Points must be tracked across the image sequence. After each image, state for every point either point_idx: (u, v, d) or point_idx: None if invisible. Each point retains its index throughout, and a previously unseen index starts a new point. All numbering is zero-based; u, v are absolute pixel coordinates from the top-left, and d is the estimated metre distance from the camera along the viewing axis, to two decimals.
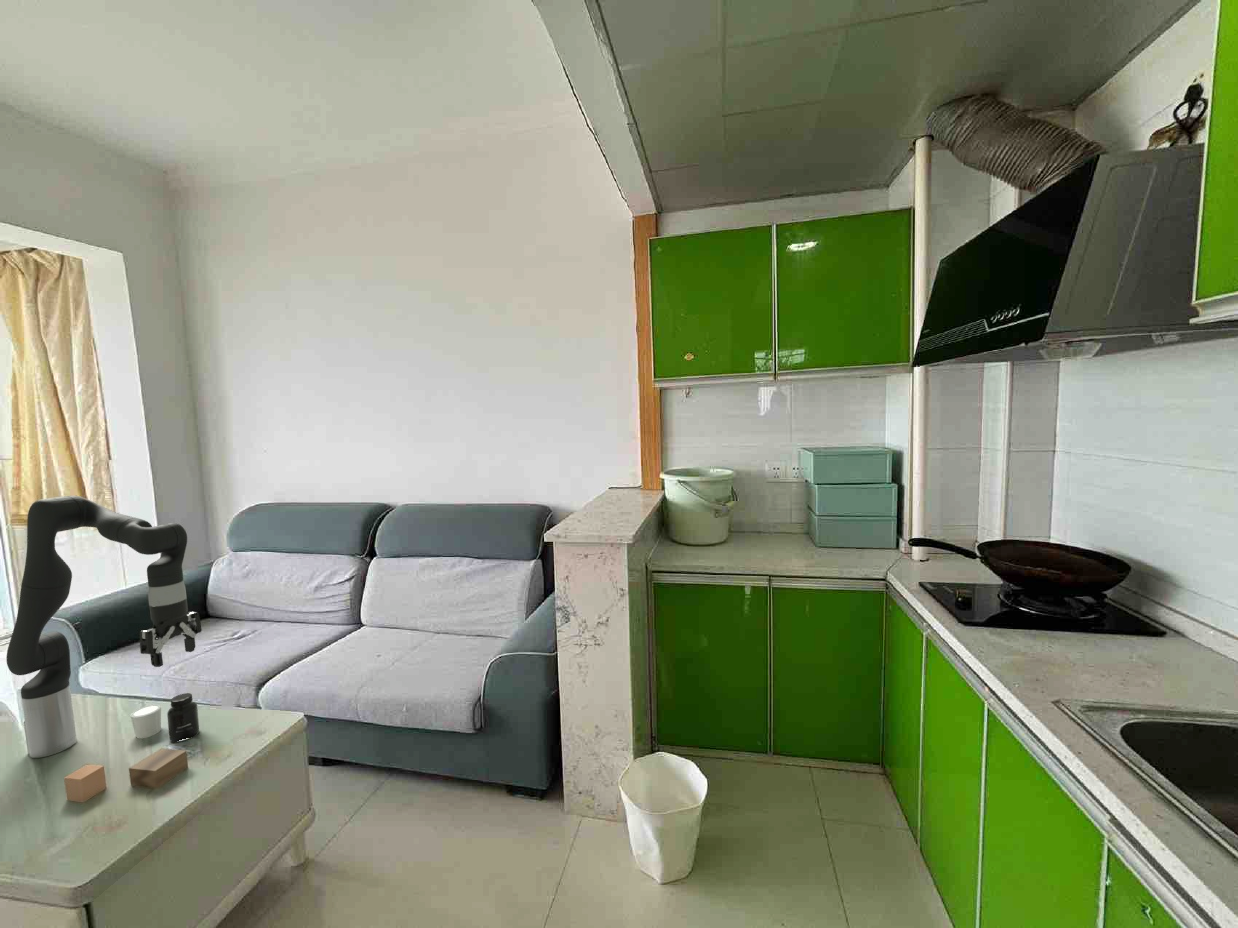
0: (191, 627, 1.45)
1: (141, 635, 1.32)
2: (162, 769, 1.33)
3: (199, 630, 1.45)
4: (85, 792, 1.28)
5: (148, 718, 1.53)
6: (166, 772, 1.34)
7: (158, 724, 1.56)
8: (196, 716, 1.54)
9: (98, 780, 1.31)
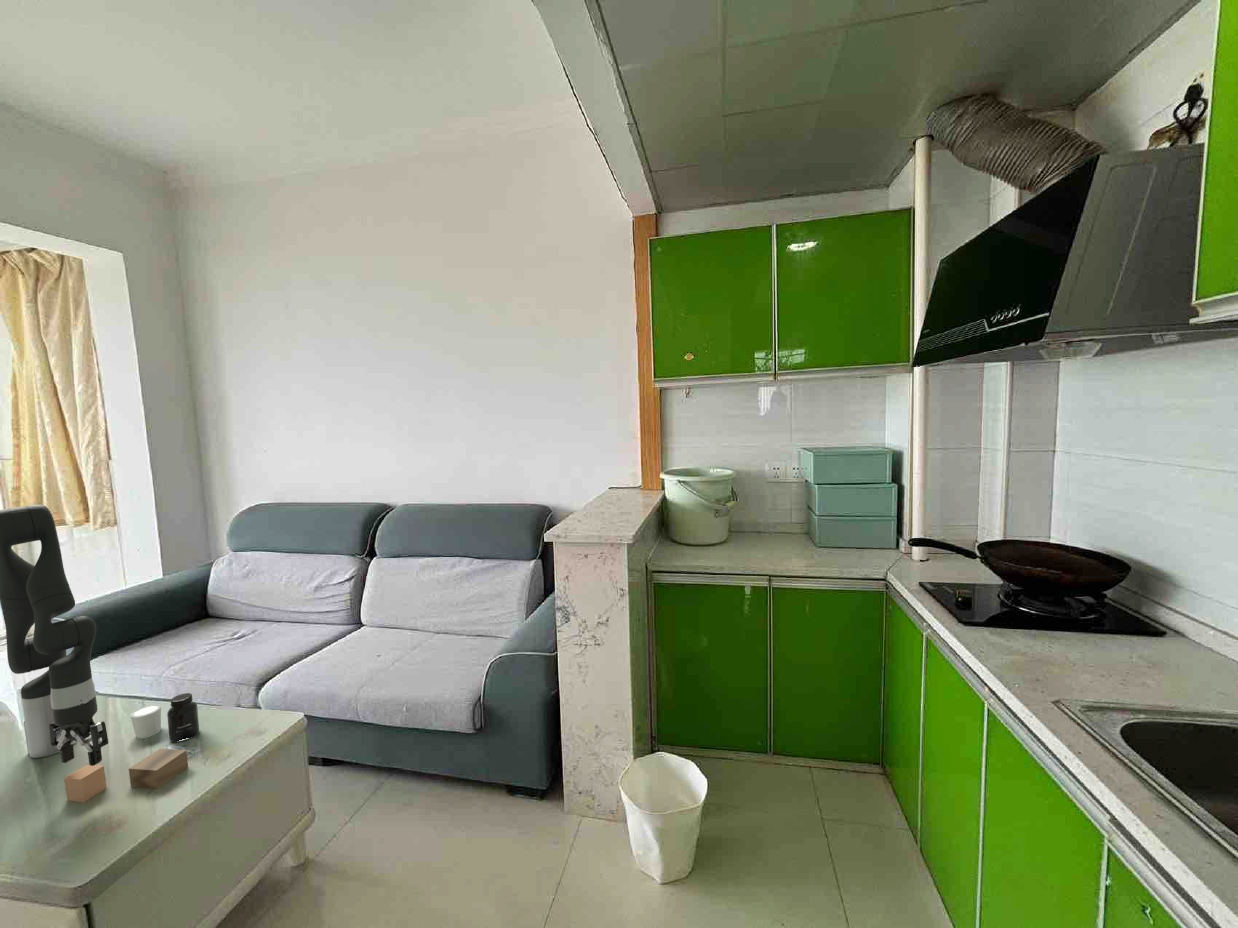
0: None
1: (96, 729, 1.27)
2: (163, 768, 1.33)
3: None
4: (85, 792, 1.28)
5: (148, 718, 1.53)
6: (167, 772, 1.34)
7: (158, 724, 1.56)
8: (196, 716, 1.54)
9: (98, 780, 1.31)
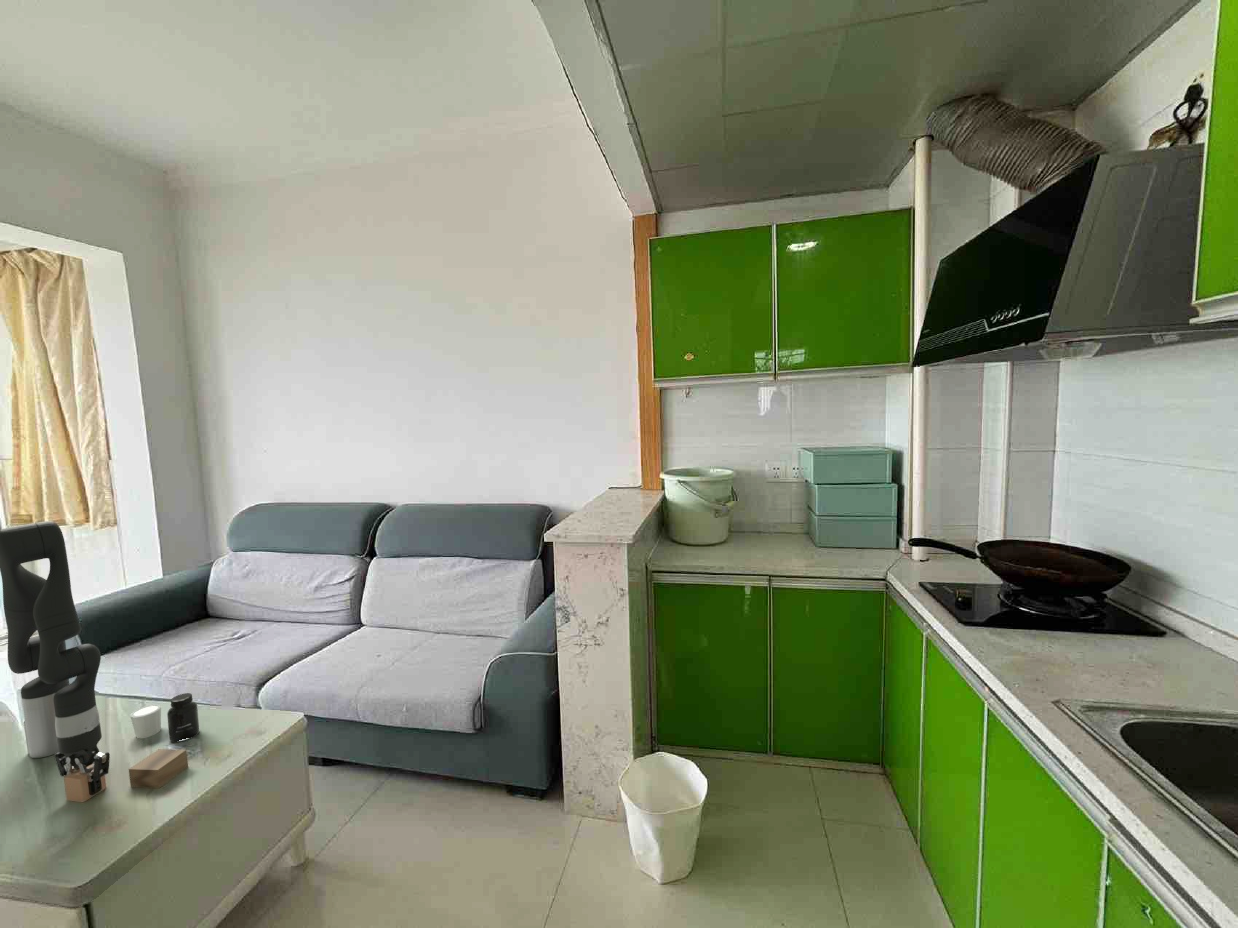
0: None
1: (100, 761, 1.28)
2: (164, 768, 1.33)
3: None
4: (85, 792, 1.28)
5: (148, 718, 1.53)
6: (167, 771, 1.34)
7: (158, 724, 1.56)
8: (196, 716, 1.54)
9: None
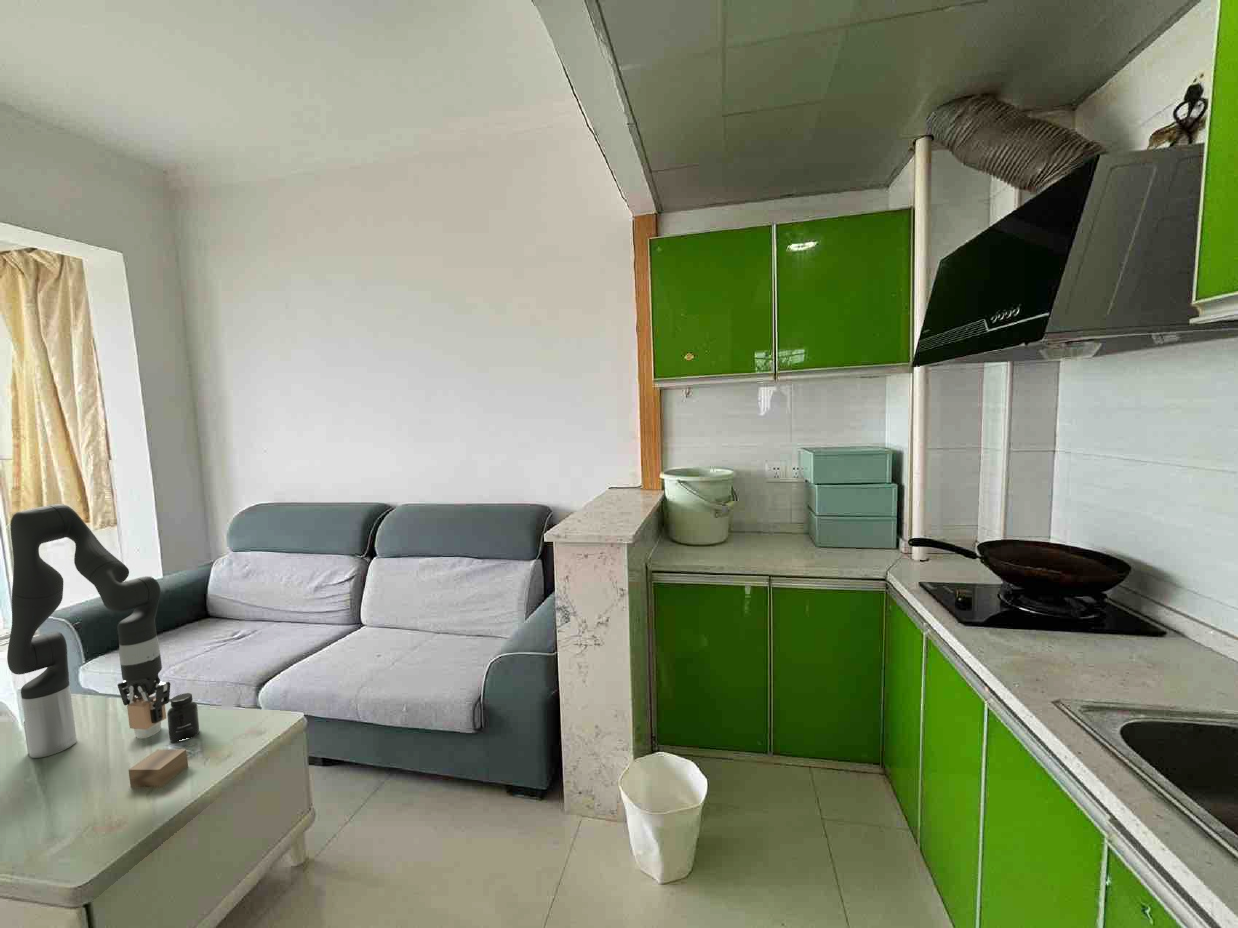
0: None
1: (162, 689, 1.31)
2: (165, 767, 1.33)
3: None
4: (147, 720, 1.31)
5: None
6: (168, 771, 1.34)
7: (158, 724, 1.56)
8: (196, 716, 1.54)
9: None
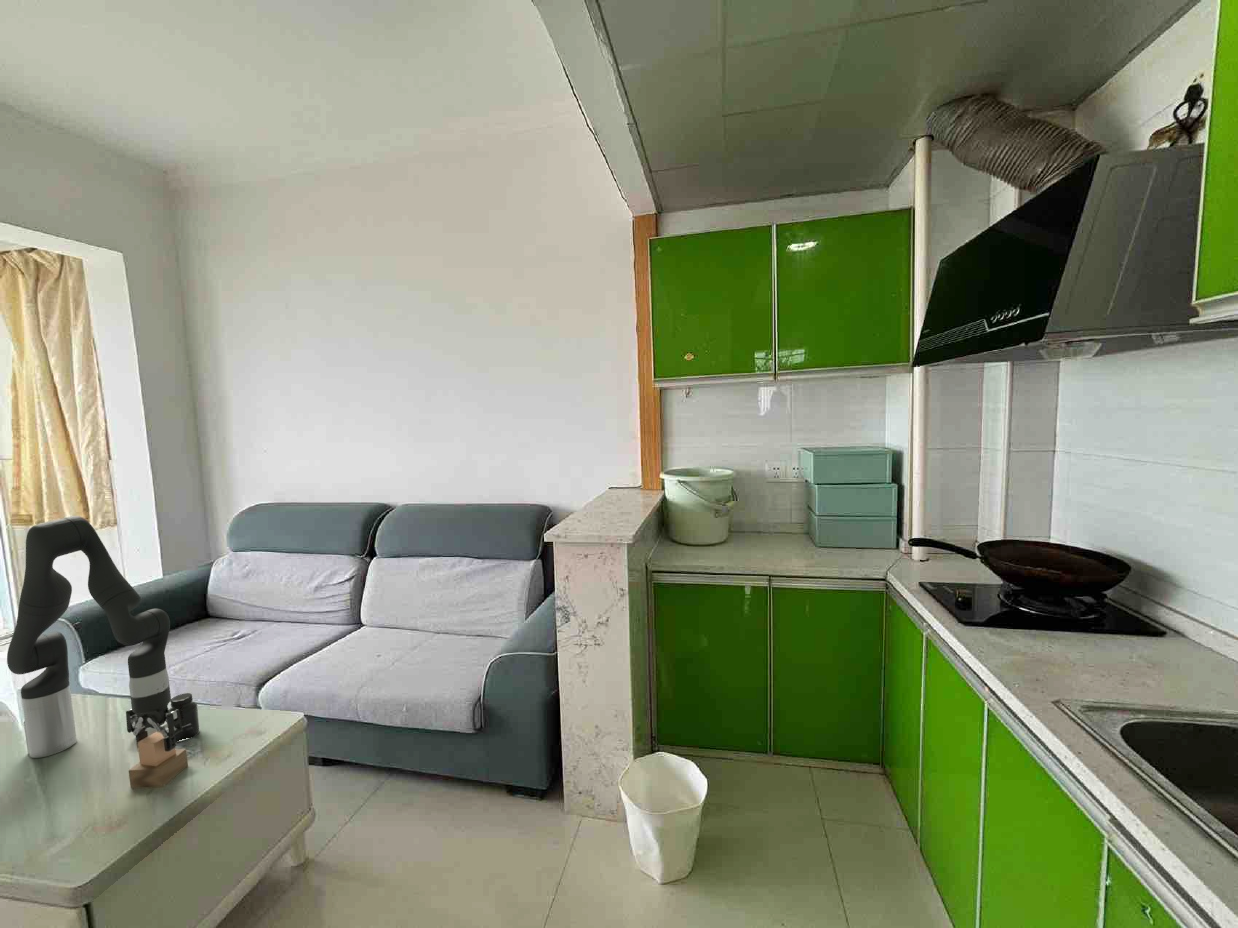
0: None
1: (172, 717, 1.33)
2: (166, 767, 1.34)
3: None
4: (157, 757, 1.33)
5: None
6: (169, 770, 1.35)
7: None
8: (196, 716, 1.54)
9: None
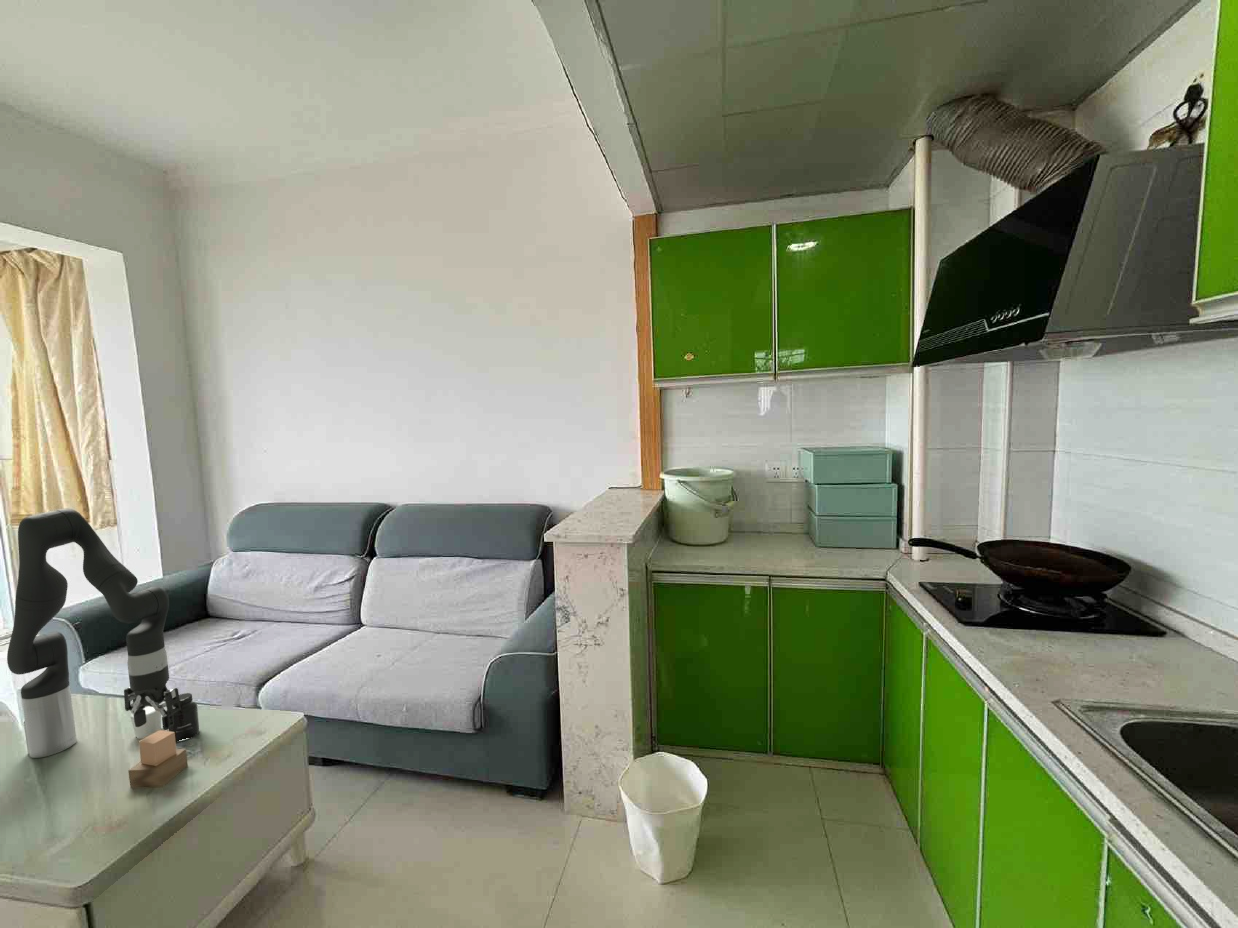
0: None
1: (171, 695, 1.33)
2: (166, 767, 1.34)
3: None
4: (158, 756, 1.34)
5: (148, 718, 1.53)
6: (169, 770, 1.35)
7: (158, 724, 1.56)
8: (196, 716, 1.54)
9: (169, 745, 1.36)
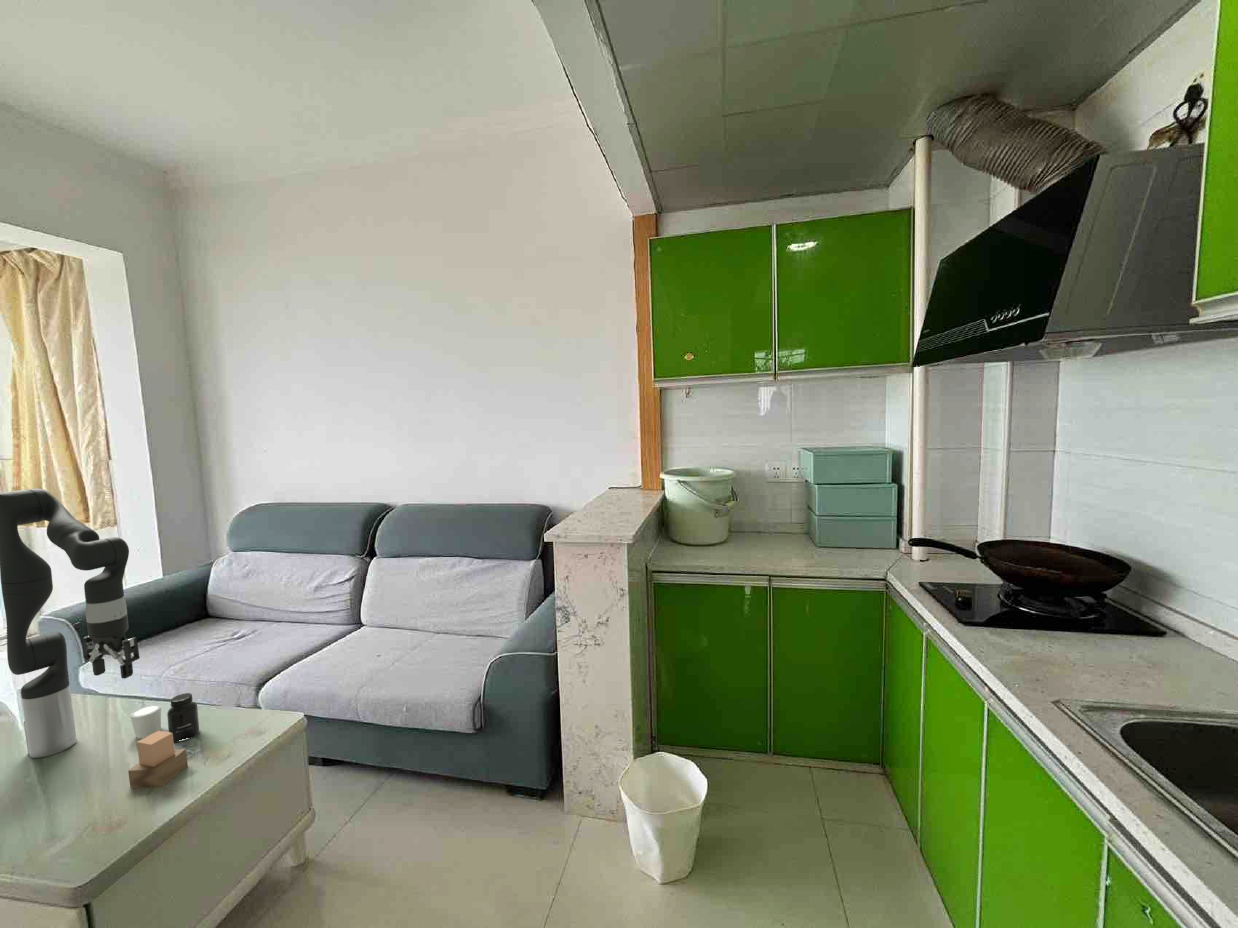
0: None
1: (129, 644, 1.33)
2: (166, 767, 1.34)
3: None
4: (155, 757, 1.33)
5: (148, 718, 1.53)
6: (169, 770, 1.35)
7: (158, 724, 1.56)
8: (196, 716, 1.54)
9: (167, 746, 1.36)
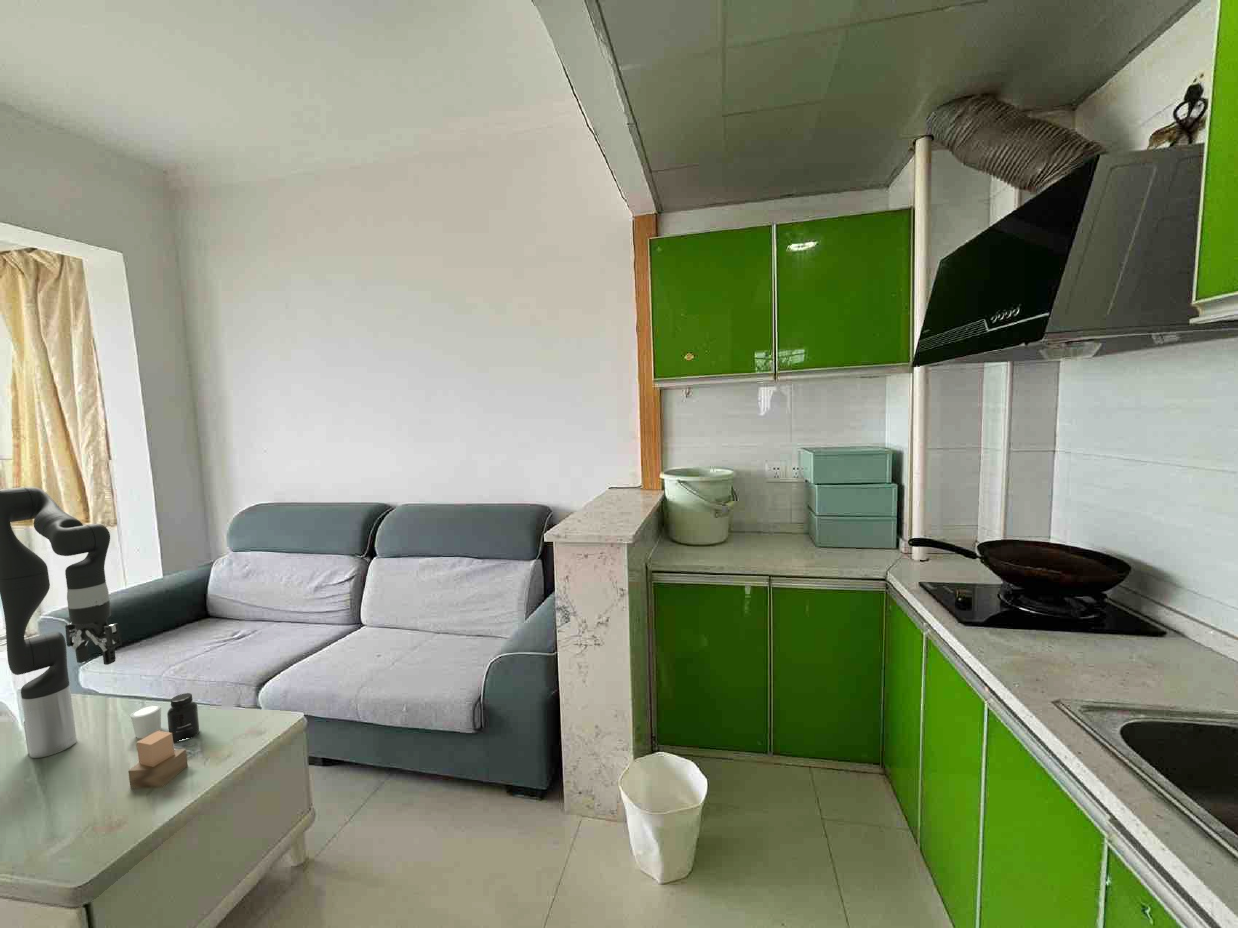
0: None
1: (110, 630, 1.34)
2: (166, 767, 1.34)
3: None
4: (155, 757, 1.33)
5: (148, 718, 1.53)
6: (169, 770, 1.35)
7: (158, 724, 1.56)
8: (196, 716, 1.54)
9: (167, 746, 1.36)
